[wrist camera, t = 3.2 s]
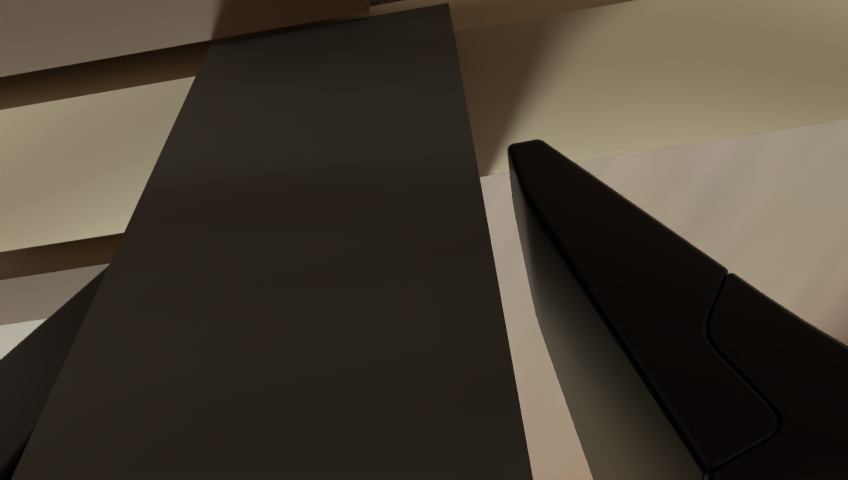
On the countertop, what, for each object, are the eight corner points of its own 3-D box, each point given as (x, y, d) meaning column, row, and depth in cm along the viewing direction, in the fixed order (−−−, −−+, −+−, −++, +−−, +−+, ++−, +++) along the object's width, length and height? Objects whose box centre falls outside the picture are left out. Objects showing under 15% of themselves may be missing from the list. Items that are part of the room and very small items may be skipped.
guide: (420, 198, 13) (424, 261, 12) (20, 260, 14) (-21, 327, 12) (356, -108, 10) (351, -69, 8) (-174, -7, 10) (-263, 44, 9)
